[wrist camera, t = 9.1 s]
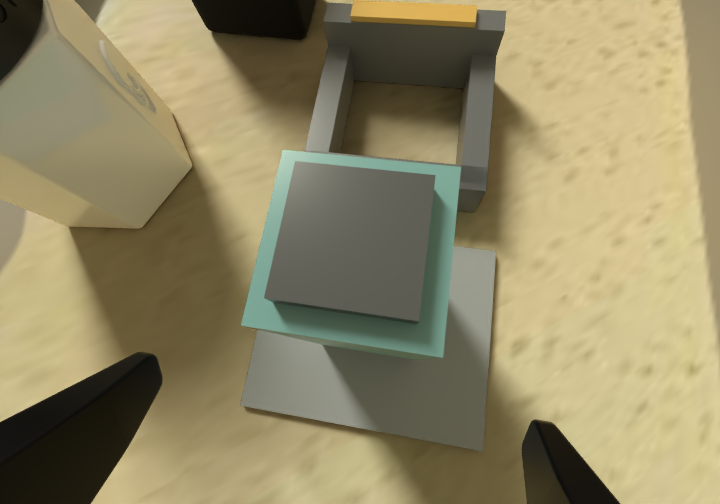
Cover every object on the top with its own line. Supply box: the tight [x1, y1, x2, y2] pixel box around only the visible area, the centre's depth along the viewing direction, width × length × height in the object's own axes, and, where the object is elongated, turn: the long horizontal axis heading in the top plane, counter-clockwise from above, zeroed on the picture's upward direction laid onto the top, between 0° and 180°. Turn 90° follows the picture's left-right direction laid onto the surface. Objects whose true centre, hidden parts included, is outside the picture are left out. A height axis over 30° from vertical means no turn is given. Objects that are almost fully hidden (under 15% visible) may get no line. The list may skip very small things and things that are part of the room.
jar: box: [0, 0, 192, 229], centre depth 16 cm, size 9×8×12 cm
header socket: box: [304, 0, 506, 212], centre depth 19 cm, size 9×9×4 cm
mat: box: [240, 246, 496, 451], centre depth 18 cm, size 9×11×1 cm
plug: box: [241, 150, 461, 360], centre depth 13 cm, size 4×4×11 cm
